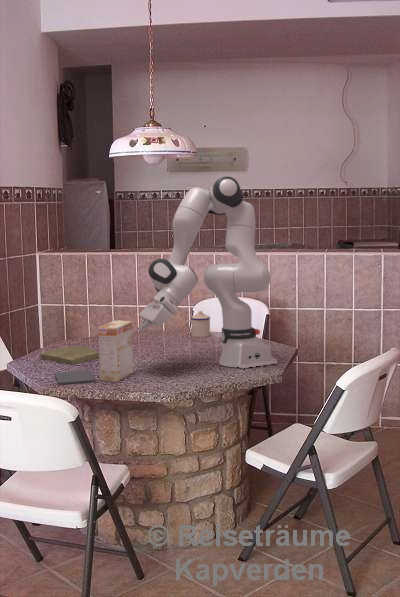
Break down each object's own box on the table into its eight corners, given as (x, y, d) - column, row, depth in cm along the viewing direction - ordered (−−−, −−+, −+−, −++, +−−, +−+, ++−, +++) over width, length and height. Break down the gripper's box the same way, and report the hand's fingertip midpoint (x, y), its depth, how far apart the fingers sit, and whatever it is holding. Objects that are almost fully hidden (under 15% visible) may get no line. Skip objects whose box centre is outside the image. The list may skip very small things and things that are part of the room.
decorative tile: (72, 366, 289) (71, 357, 288) (39, 360, 302) (39, 351, 301) (107, 358, 303) (106, 349, 303) (74, 352, 316) (74, 344, 315)
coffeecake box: (116, 371, 277) (114, 320, 275) (134, 372, 275) (132, 320, 272) (99, 380, 263) (97, 326, 260) (117, 382, 261) (115, 327, 258)
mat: (90, 372, 276) (90, 370, 276) (95, 382, 261) (95, 379, 261) (54, 374, 273) (54, 372, 273) (58, 385, 258) (58, 382, 258)
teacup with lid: (212, 334, 350) (212, 310, 349) (207, 338, 342) (206, 313, 340) (188, 333, 354) (188, 309, 352) (182, 336, 345) (182, 312, 344)
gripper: (151, 294, 283) (126, 321, 281) (166, 299, 264) (140, 328, 261) (162, 305, 285) (138, 332, 283) (178, 311, 265) (152, 340, 263)
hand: (139, 330), depth 272 cm, fingers closed
